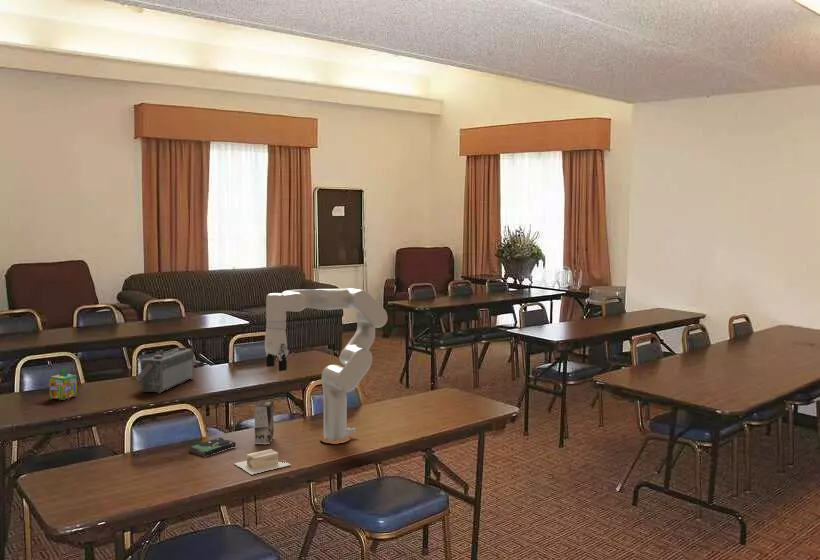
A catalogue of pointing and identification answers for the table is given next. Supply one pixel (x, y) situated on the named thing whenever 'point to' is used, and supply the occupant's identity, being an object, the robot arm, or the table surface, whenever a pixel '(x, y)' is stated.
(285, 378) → the table surface
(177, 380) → the radio
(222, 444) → the disk drive
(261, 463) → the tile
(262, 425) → the coffee box
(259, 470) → the mat
